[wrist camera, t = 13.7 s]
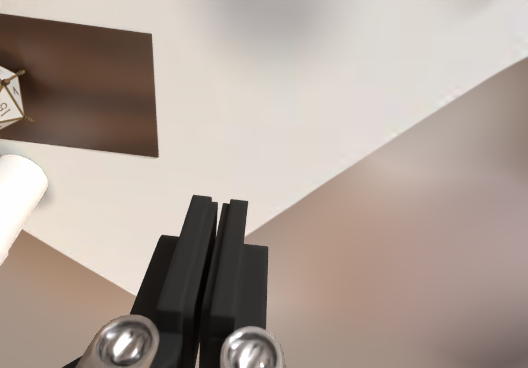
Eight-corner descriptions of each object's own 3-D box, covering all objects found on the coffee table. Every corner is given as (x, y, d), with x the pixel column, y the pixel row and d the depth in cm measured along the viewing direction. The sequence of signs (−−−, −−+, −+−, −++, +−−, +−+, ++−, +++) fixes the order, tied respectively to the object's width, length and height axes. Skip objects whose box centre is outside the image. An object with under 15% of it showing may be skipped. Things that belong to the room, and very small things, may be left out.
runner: (-113, -2, 33) (-114, -2, 32) (151, 34, 34) (151, 34, 33) (-55, 131, 40) (-55, 131, 40) (158, 157, 41) (158, 157, 41)
